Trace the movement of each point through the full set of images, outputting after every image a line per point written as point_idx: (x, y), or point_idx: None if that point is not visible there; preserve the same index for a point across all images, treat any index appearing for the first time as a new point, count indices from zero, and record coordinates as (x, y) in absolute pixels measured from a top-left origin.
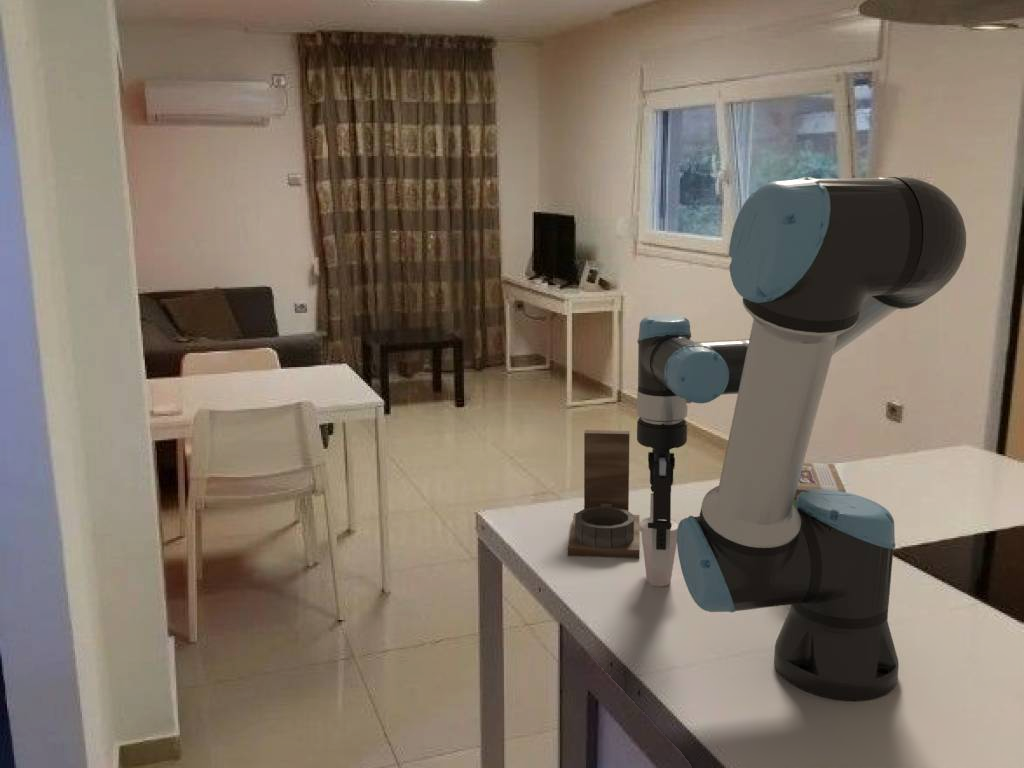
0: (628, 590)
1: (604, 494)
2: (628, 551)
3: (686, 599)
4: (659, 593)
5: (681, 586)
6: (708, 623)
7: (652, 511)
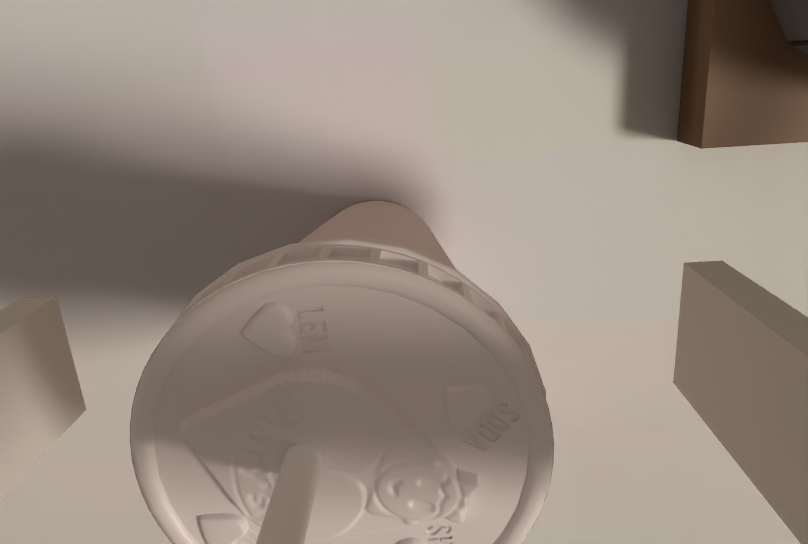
0: (231, 105)
1: None
2: (702, 71)
3: None
4: None
5: None
6: None
7: (784, 362)
